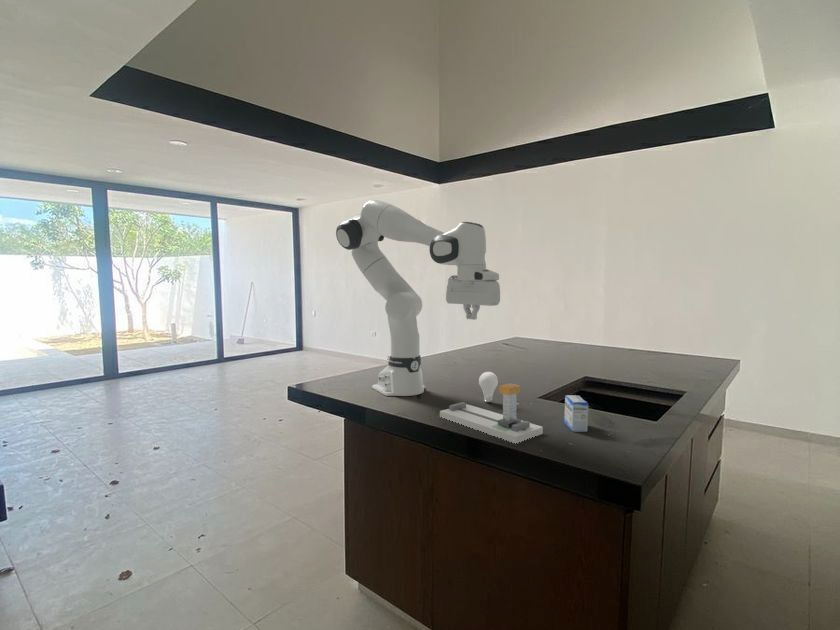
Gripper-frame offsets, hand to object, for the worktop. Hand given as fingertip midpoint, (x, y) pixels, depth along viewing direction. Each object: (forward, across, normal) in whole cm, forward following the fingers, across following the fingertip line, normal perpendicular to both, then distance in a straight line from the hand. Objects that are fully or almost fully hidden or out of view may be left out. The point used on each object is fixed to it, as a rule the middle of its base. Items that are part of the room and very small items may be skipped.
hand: (471, 319), depth 137 cm
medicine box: (+31, +27, +16) cm, 44 cm away
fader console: (+31, +9, -2) cm, 32 cm away
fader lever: (+29, +17, -2) cm, 33 cm away
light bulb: (+31, -7, +16) cm, 36 cm away
